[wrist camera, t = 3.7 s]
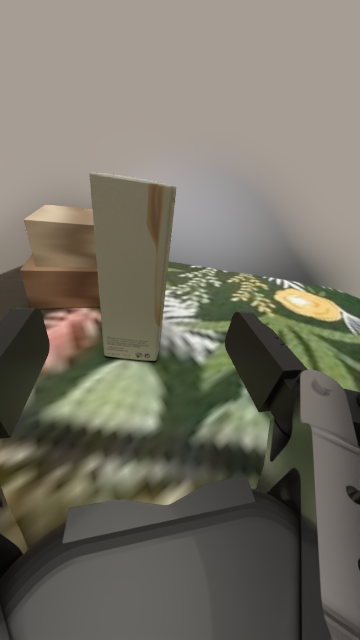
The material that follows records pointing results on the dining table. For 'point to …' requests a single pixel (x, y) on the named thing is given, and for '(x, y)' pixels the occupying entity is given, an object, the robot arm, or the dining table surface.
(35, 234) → the stepped wooden pedestal
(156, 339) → the skincare box
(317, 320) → the dining table surface
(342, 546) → the robot arm
